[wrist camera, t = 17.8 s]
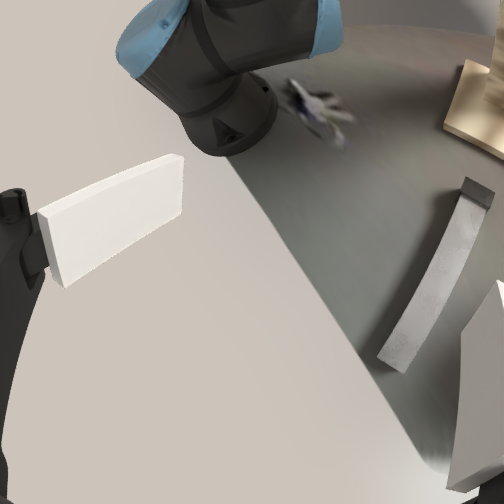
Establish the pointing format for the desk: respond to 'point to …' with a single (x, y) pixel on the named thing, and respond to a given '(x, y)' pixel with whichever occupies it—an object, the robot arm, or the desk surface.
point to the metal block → (438, 276)
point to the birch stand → (481, 100)
